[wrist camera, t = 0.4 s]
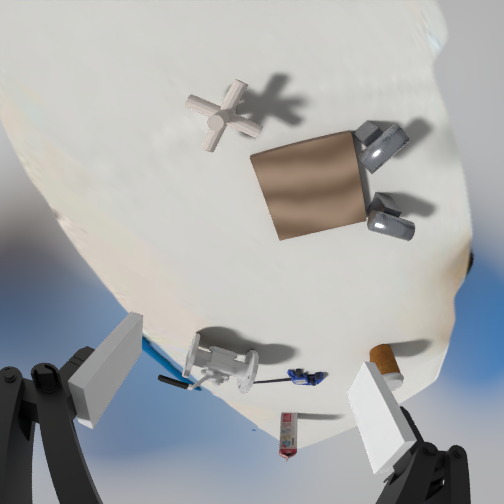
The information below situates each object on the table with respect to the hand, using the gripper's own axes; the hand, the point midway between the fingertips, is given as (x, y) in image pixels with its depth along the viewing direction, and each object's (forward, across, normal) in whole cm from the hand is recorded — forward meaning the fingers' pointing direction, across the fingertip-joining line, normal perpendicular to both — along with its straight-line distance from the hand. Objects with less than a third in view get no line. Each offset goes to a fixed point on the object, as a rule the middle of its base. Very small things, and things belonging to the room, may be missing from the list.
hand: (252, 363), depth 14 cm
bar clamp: (+57, +16, -46) cm, 75 cm away
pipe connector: (+26, -9, +19) cm, 34 cm away
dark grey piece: (+30, +18, +12) cm, 37 cm away
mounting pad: (+30, +6, +11) cm, 33 cm away
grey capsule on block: (+26, +12, +21) cm, 36 cm away
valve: (+49, -4, -32) cm, 59 cm away
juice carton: (+71, +32, -77) cm, 109 cm away
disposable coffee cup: (+48, +41, -24) cm, 67 cm away
